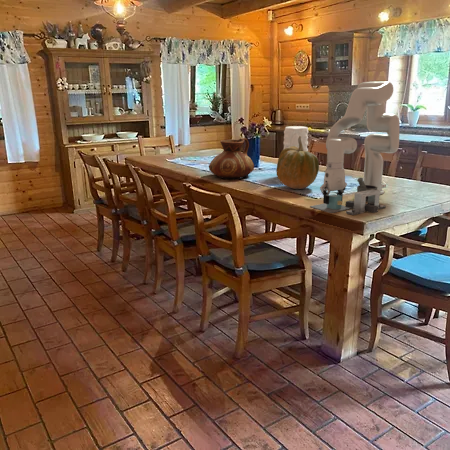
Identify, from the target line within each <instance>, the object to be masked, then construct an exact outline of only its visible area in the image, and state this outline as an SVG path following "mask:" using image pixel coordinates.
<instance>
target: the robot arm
mask: <svg viewBox="0 0 450 450" xmlns="http://www.w3.org/2000/svg"><path fill="white" fill-rule="evenodd" d="M393 94H394V85H393V84H392V82H391V81H364V82H361V83H359V84H357V88H355V89H354V90H353V91H352V94H351V96H350V98H349V101H348V105H347V108H346V110H345V114H344V115H343V116H342V117H341V118H339V120H337V121H336V122H335V123H334V124H333V125H332V126H331V128H330V129H329V132H328V135H327V137H326V141H325V148H326V150H327V154H326V155H327V156H326V165H325V168H326V169H325V171H324V176H323V177H324V178H323V184H322V185H321V186H320V187H319V190H320V193H321V194H322V196H323V203H322V204H324V203H325V204H329V196H328V195H330V193H331V192H335V191H337V192H336V195H341V196H342V199H344V198H343V197H344V195H343V194H344V193H345V190H346V187H347V185H348V183H347V182H346V172H345V168H344V161H345V160H344V158H345V154H353V153H354V152H355V151H356V150H357V147H358V142H357V140H356V139H355V138H353V137H349V136H340V134H341V133H342V132H343V131H344V130H346V129H348V128H349V129H350V128H352V127H354V126H356V125H359V124H360V123H361V122H362V121H363V118H364V115H365V112H366V126H367V127H366V128H367V130H368V131H369V132H373V133H371V134H368V135H367V136H366V137H365V138H364V142H363V143H364V144H363V145H364V166H363V167H364V169H363V182H364V184H365V185H371V186H376V187H377V190H379V191H380V195H382V194H384V193H385V191H384V190H383V188H386V187H387V183H382V180H383V173H384V171H383V170H384V169H383V168H384V157H383V156H382V154H381V153H383V154H384V153H385V154H395V153H396V152H397V151H398V150H399V146H400V118H399V117H398V115H397V114H395V113H385V102H387V101H388V100H390V99H391V98H392V96H393ZM384 133H385V134H384Z"/></svg>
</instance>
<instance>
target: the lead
mask: <svg viewBox="0 0 450 450" xmlns="http://www.w3.org/2000/svg"><path fill="white" fill-rule="evenodd" d="M345 206H347V207H351V208H352V210H354V200H346V201H345ZM378 210H379V209H378V206H375V205H370V204H368V203H365V212H367V211H368V212H367V213H373V214H375V213H377V212H378Z"/></svg>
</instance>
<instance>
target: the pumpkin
mask: <svg viewBox="0 0 450 450" xmlns="http://www.w3.org/2000/svg"><path fill="white" fill-rule="evenodd" d="M298 143H299V149H298V148H297V147H295V146H291V147H288V148H285V149H284V148H283V149H284V150H283V149H282V150H281V152H280V153H279V156H278V160H277V164H276V169H275V170H276V172H275V173H276V176H277V178H278V181H279V182H280V183H281V184H282V185H284V186H285V187H287V188H290V189H294V190H302V189H303V190H304V189H307V188H308V187H309V186H311V184H312V185H313V183H314V182H315V180H316V178H317V177H318V174H319V169H320V163H319V159H318V157H317V156H316V155H315V154H314V153H311V152H310V151H309V150H308V151H304V150H303V145H302V142H301V136H299V138H298Z"/></svg>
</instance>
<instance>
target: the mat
mask: <svg viewBox="0 0 450 450" xmlns="http://www.w3.org/2000/svg"><path fill="white" fill-rule="evenodd" d="M309 208H312V209H315V210H319V211H322V212H325V213H329V214H334V213H339V212H343V211H349V210H353V208H351V207H347V206H346V205H343V204H342V205H341V208H340V209H331V208H327V204H325V203H320V204H314V205H310V206H309Z"/></svg>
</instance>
